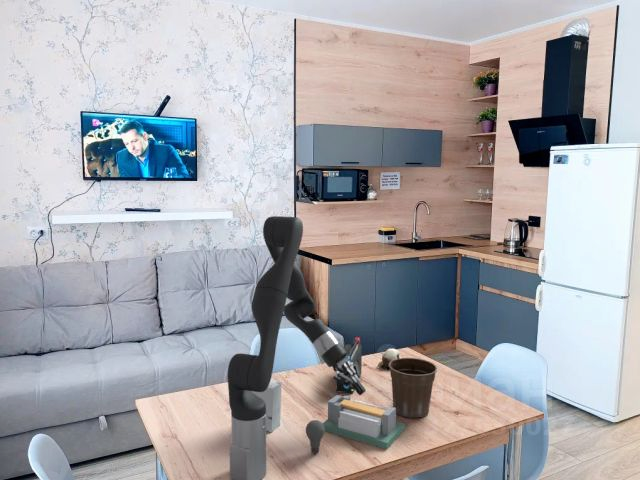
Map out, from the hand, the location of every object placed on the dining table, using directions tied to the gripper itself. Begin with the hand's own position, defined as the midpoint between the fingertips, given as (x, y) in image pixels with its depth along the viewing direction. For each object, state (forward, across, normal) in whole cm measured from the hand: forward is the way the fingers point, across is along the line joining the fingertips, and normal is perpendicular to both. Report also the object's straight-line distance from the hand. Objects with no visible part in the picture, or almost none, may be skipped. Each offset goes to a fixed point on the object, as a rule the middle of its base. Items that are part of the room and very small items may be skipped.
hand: (362, 393), depth 168 cm
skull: (-1, +57, +18) cm, 60 cm away
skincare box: (-10, -14, +28) cm, 33 cm away
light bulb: (+5, -20, +13) cm, 24 cm away
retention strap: (+4, 0, +4) cm, 5 cm away
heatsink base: (+9, 0, +9) cm, 12 cm away
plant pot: (+15, +21, +3) cm, 26 cm away
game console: (-6, +32, +24) cm, 40 cm away
